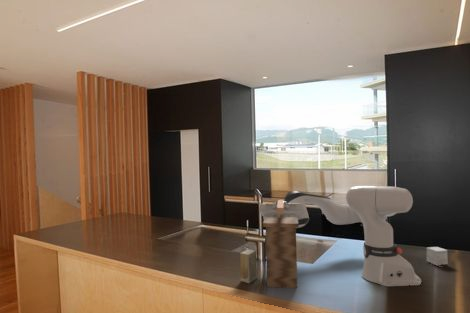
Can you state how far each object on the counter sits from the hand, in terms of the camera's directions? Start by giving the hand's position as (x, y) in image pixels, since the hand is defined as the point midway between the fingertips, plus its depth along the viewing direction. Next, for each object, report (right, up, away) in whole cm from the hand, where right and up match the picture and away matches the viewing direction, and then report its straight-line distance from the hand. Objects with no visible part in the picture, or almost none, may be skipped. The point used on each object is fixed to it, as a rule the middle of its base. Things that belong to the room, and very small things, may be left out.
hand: (280, 203), depth 140 cm
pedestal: (-1, -32, -10) cm, 33 cm away
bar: (-1, -2, -6) cm, 6 cm away
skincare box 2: (+75, -30, +7) cm, 81 cm away
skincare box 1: (-14, -32, -7) cm, 36 cm away
